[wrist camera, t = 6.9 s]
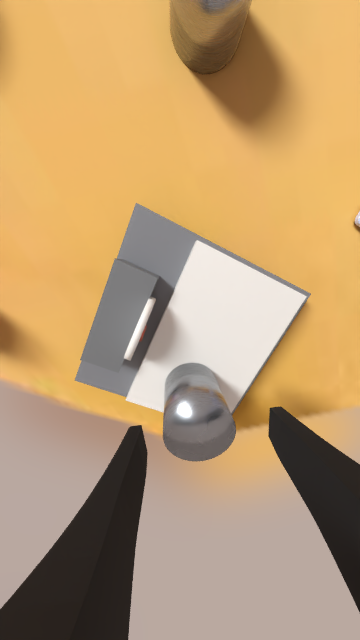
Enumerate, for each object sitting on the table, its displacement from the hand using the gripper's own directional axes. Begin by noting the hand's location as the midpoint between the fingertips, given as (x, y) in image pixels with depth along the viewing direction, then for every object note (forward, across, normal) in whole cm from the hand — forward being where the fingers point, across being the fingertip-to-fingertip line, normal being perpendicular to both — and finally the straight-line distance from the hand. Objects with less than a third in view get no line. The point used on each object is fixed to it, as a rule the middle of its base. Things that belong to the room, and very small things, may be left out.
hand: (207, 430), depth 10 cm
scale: (+9, 0, -2) cm, 10 cm away
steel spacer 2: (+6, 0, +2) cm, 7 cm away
